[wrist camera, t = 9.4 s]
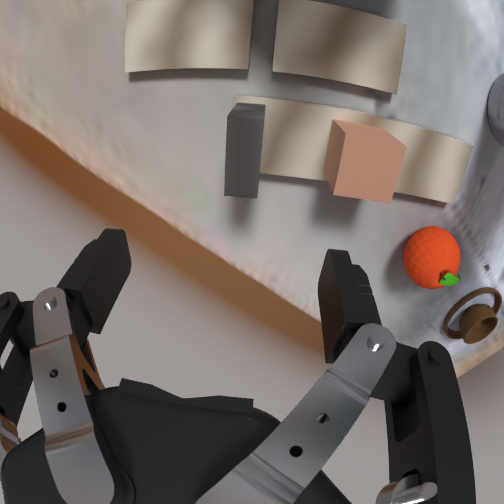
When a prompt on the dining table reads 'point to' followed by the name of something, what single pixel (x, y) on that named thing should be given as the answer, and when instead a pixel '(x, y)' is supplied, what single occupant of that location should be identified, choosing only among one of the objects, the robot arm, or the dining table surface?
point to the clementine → (432, 258)
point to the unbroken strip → (316, 144)
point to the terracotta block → (363, 161)
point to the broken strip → (286, 40)
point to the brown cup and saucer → (475, 317)
